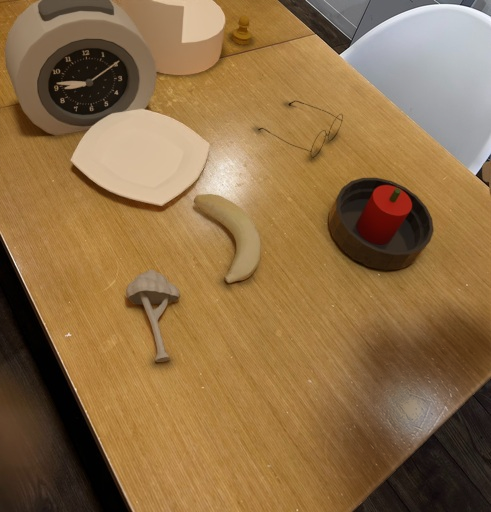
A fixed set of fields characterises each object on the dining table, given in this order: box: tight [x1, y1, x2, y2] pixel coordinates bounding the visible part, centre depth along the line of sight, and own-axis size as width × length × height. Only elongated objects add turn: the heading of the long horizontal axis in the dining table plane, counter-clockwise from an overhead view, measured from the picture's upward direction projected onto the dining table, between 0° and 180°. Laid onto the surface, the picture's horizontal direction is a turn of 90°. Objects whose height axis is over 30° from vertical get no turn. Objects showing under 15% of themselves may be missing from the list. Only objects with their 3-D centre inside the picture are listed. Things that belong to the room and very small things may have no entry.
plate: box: [70, 108, 211, 207], centre depth 79 cm, size 19×19×2 cm
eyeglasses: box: [257, 100, 344, 159], centre depth 88 cm, size 11×13×5 cm
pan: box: [328, 177, 435, 271], centre depth 77 cm, size 15×15×4 cm
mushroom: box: [125, 269, 181, 363], centre depth 62 cm, size 7×5×12 cm
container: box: [118, 0, 226, 76], centre depth 94 cm, size 20×20×13 cm
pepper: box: [357, 185, 412, 245], centre depth 75 cm, size 6×6×9 cm
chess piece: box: [231, 15, 252, 46], centre depth 103 cm, size 4×4×5 cm
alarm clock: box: [4, 0, 158, 136], centre depth 76 cm, size 21×8×20 cm, turn 116°
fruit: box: [193, 193, 262, 284], centre depth 72 cm, size 7×15×3 cm, turn 22°
